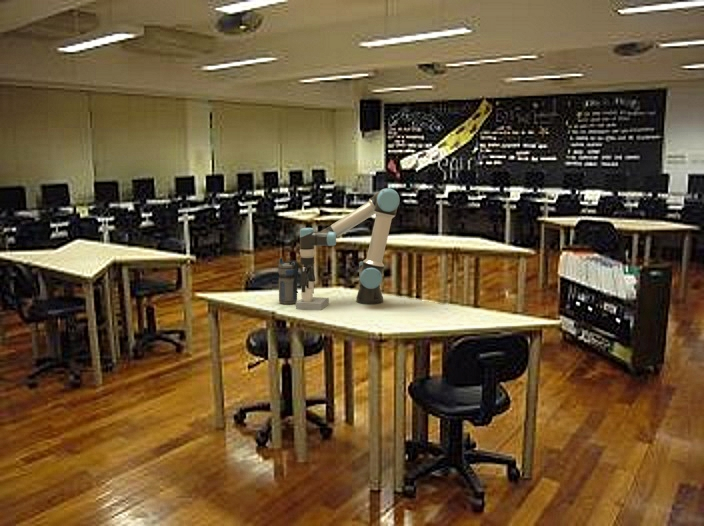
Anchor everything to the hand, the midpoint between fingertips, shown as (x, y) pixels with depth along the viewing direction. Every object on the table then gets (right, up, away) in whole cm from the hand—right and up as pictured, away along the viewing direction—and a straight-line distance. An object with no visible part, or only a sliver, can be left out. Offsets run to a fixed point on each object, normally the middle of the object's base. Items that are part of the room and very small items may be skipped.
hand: (307, 295), depth 337 cm
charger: (0, -6, +1) cm, 6 cm away
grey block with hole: (+2, -6, +2) cm, 7 cm away
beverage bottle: (-11, -5, +11) cm, 17 cm away
